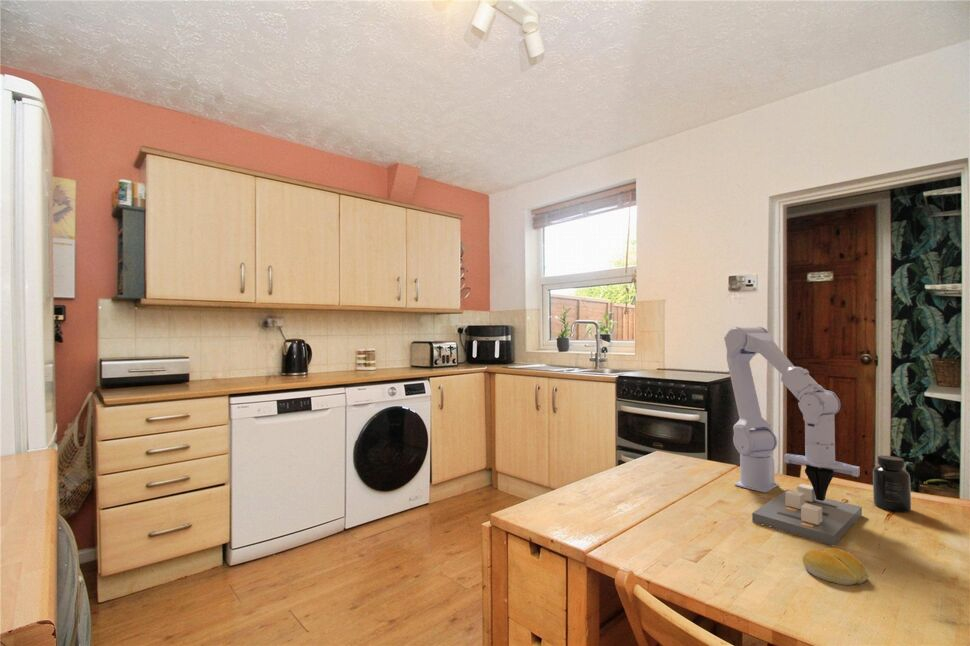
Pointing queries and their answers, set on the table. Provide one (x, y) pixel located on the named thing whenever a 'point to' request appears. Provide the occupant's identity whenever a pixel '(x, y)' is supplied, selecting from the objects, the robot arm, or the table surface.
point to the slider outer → (811, 514)
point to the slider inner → (807, 492)
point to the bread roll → (835, 566)
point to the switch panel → (789, 519)
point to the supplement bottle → (891, 485)
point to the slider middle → (794, 499)
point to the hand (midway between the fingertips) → (820, 499)
